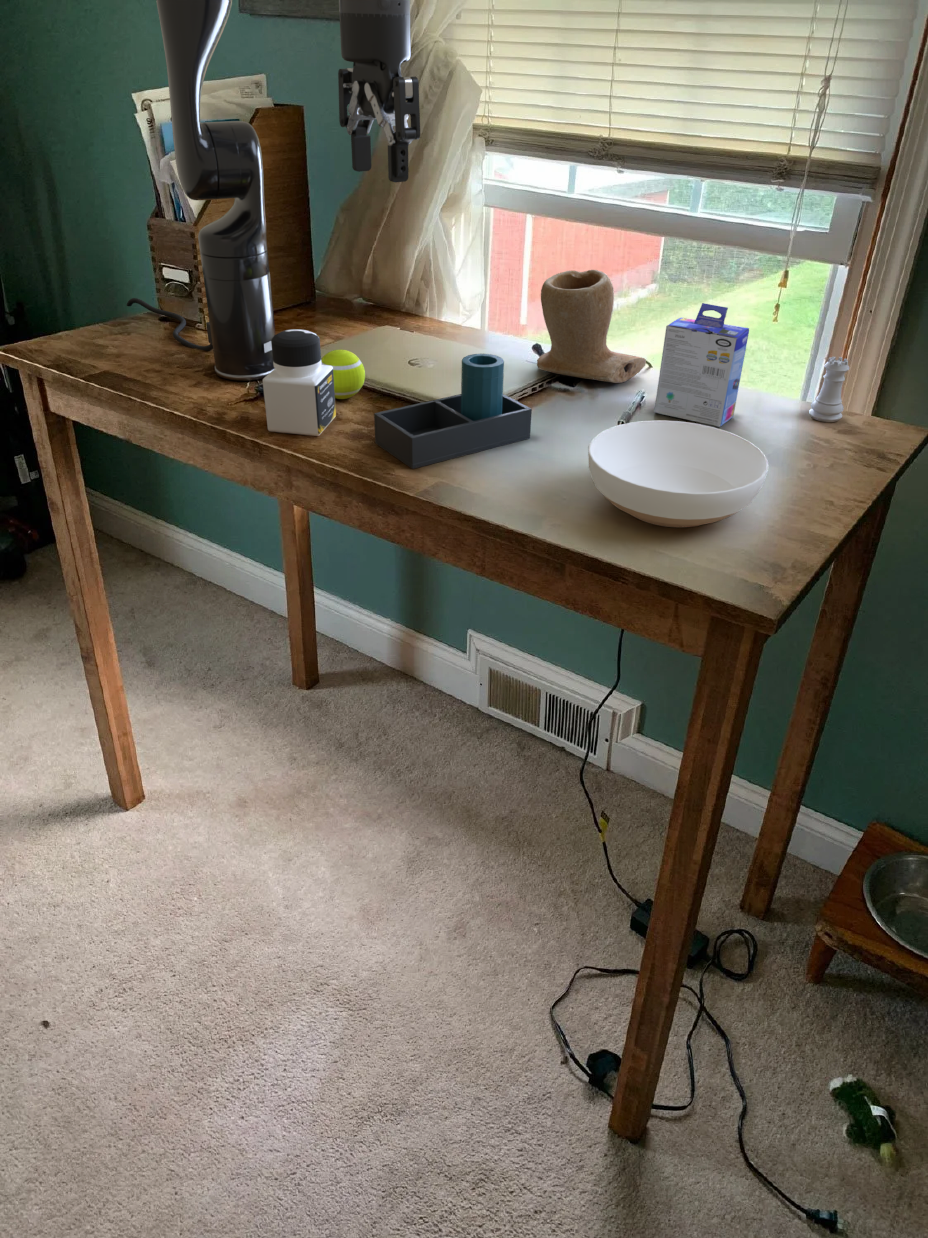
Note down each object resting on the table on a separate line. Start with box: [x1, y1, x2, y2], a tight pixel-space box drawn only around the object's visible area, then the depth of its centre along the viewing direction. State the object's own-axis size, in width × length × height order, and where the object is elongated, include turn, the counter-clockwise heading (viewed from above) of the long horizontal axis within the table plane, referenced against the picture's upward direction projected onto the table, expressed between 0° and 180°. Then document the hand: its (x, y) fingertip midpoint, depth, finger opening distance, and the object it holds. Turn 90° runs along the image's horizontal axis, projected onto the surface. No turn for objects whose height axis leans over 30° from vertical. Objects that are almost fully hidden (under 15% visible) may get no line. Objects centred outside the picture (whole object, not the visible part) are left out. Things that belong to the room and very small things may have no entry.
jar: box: [460, 353, 505, 421], centre depth 120 cm, size 5×5×9 cm
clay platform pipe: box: [536, 269, 647, 384], centre depth 138 cm, size 15×12×15 cm
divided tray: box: [373, 393, 533, 470], centre depth 120 cm, size 9×18×4 cm, turn 124°
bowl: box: [587, 420, 770, 528], centre depth 105 cm, size 20×20×6 cm
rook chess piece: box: [808, 356, 851, 423], centre depth 127 cm, size 4×4×8 cm
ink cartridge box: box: [653, 302, 750, 428], centre depth 125 cm, size 10×6×14 cm, turn 58°
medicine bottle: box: [262, 328, 337, 437], centre depth 121 cm, size 7×7×12 cm
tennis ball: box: [321, 348, 366, 400], centre depth 131 cm, size 7×7×7 cm
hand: (379, 175), depth 109 cm, fingers open, 8 cm apart
